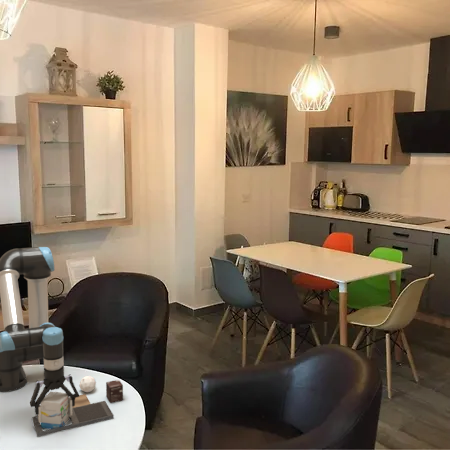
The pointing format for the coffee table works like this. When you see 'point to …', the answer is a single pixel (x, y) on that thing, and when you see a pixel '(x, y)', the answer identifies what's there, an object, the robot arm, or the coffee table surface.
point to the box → (114, 391)
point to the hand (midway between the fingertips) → (55, 417)
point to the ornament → (87, 384)
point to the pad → (81, 401)
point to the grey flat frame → (79, 417)
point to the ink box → (54, 410)
